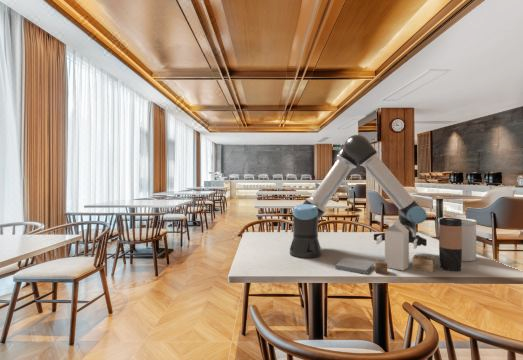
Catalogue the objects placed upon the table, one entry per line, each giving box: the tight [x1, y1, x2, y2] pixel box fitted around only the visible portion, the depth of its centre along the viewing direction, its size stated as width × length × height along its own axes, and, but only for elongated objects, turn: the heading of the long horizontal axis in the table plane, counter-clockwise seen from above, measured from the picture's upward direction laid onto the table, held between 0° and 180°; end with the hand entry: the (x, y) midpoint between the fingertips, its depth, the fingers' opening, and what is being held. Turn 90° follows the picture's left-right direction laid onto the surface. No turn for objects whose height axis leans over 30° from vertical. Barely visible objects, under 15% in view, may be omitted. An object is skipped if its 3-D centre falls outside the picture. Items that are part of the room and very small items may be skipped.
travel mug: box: [438, 217, 463, 272], centre depth 115 cm, size 8×8×20 cm
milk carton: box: [384, 219, 410, 271], centre depth 117 cm, size 7×7×19 cm
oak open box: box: [411, 254, 435, 273], centre depth 116 cm, size 7×7×4 cm
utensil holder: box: [437, 217, 478, 262], centre depth 132 cm, size 15×15×18 cm
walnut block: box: [374, 259, 388, 275], centre depth 111 cm, size 4×4×4 cm
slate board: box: [334, 258, 375, 275], centre depth 117 cm, size 12×12×2 cm
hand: (395, 243), depth 114 cm, fingers open, 13 cm apart
